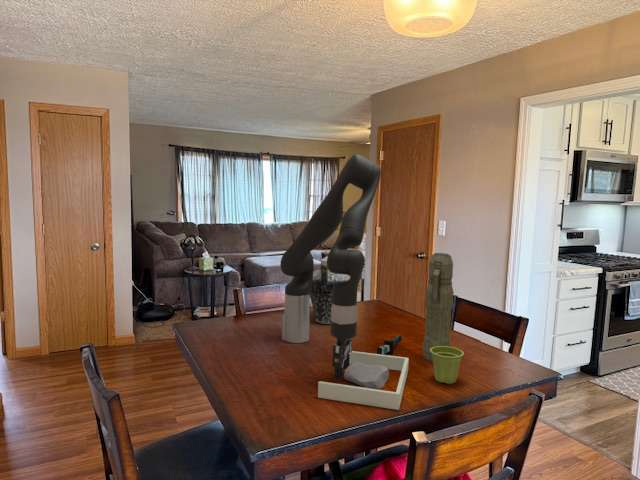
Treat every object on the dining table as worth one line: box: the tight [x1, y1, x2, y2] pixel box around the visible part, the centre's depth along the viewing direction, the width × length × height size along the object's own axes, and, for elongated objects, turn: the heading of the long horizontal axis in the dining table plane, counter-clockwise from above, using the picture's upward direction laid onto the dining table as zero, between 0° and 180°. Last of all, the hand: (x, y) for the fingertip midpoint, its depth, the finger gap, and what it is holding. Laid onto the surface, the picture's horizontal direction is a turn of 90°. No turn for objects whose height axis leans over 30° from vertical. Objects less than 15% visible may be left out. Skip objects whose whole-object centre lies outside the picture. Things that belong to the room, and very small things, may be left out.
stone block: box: [343, 362, 390, 390], centre depth 127 cm, size 12×5×10 cm
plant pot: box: [430, 346, 465, 385], centre depth 128 cm, size 9×9×9 cm
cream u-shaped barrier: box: [317, 350, 410, 411], centre depth 125 cm, size 21×27×4 cm
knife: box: [376, 334, 403, 355], centre depth 153 cm, size 31×3×4 cm, turn 152°
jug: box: [310, 250, 350, 325], centre depth 186 cm, size 21×19×30 cm
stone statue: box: [422, 252, 454, 363], centre depth 145 cm, size 9×12×35 cm
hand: (341, 374), depth 127 cm, fingers open, 8 cm apart
